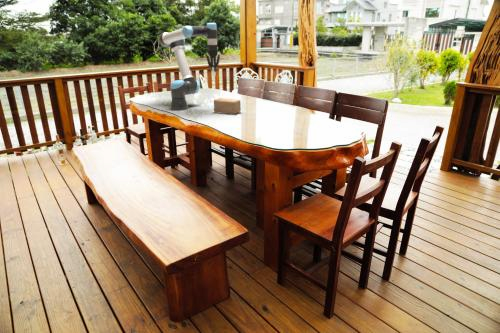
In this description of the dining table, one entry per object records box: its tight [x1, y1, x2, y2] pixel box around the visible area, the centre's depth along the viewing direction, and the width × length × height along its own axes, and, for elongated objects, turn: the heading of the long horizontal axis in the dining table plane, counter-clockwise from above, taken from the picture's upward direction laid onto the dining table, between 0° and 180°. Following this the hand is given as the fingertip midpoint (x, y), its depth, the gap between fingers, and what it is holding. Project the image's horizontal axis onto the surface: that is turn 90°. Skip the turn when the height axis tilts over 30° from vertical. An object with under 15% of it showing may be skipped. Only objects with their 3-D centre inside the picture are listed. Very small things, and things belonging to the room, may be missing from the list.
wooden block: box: [213, 97, 242, 115], centre depth 265 cm, size 10×10×20 cm
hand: (214, 75), depth 263 cm, fingers closed
